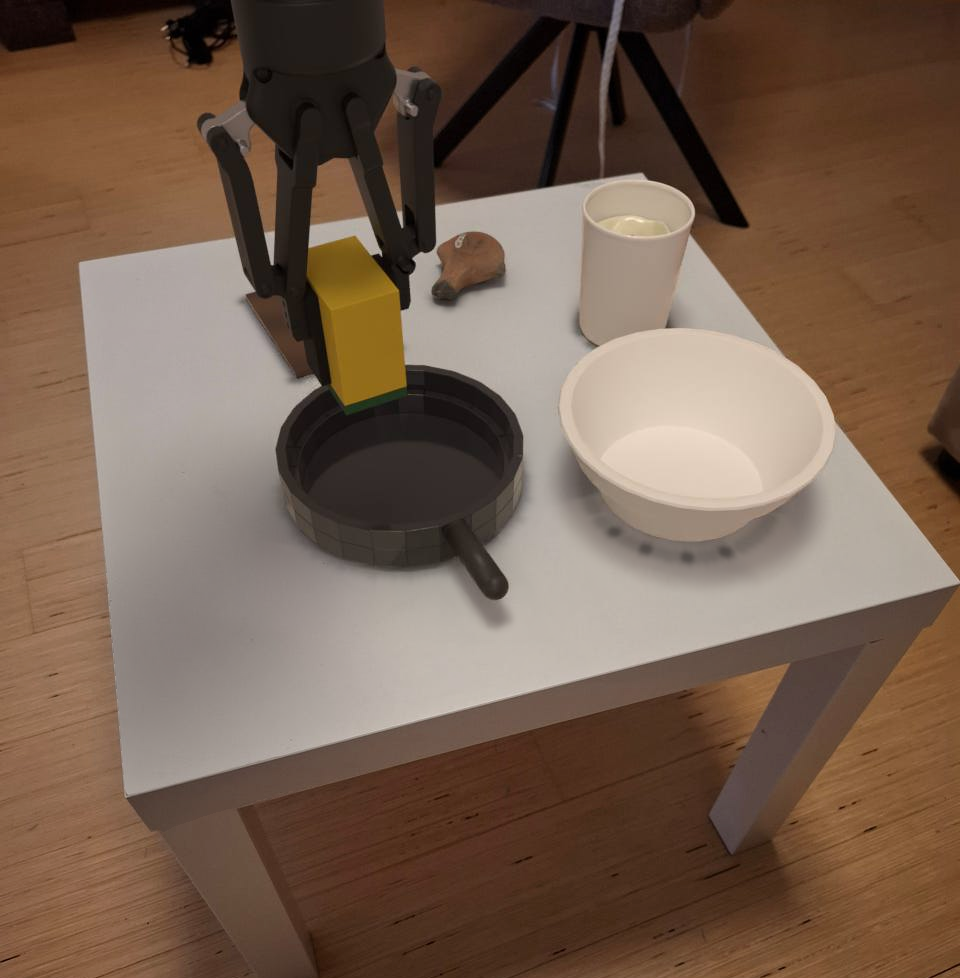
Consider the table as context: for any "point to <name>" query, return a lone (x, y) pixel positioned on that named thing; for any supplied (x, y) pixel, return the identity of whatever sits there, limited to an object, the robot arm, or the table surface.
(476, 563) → the pan handle
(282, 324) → the brown flat slab
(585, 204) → the candle holder
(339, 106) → the robot arm
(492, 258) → the oil lamp
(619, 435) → the bowl
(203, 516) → the table surface
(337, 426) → the pan
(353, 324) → the sponge
